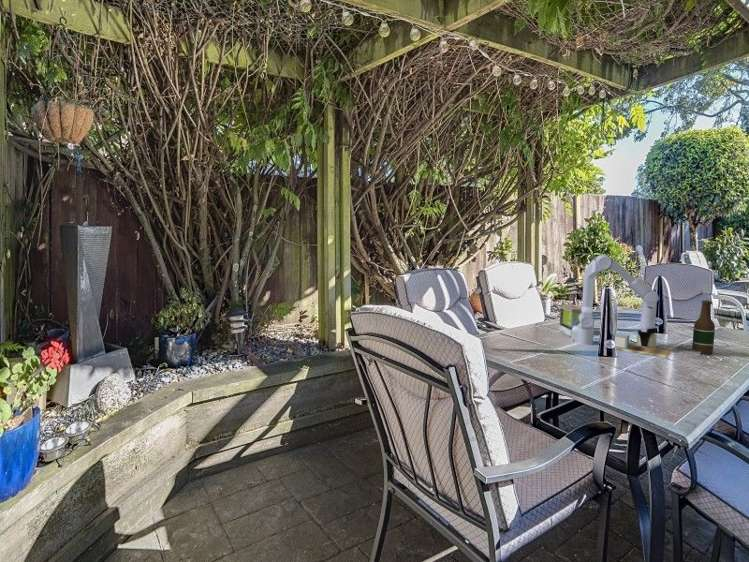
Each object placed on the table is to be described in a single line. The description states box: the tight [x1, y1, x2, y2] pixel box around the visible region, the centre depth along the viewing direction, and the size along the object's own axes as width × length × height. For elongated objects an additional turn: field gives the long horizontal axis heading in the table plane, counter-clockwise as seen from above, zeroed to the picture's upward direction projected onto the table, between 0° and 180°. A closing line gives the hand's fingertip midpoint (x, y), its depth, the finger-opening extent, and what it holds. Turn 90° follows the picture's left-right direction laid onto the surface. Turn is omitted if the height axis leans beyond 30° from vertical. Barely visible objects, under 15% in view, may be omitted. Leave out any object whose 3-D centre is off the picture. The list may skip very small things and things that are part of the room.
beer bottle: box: [691, 299, 716, 356], centre depth 203 cm, size 8×8×24 cm
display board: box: [615, 342, 673, 359], centre depth 206 cm, size 24×18×3 cm
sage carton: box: [635, 332, 657, 349], centre depth 208 cm, size 7×5×6 cm, turn 48°
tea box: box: [559, 304, 582, 337], centre depth 240 cm, size 15×10×15 cm
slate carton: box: [615, 332, 631, 349], centre depth 207 cm, size 7×5×6 cm, turn 48°
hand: (646, 344), depth 208 cm, fingers open, 7 cm apart
